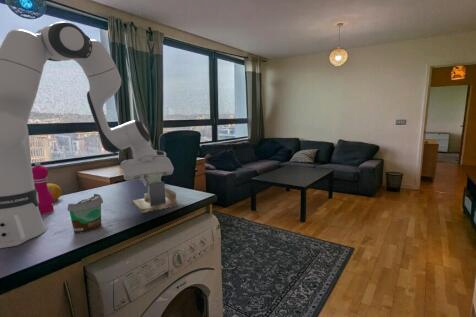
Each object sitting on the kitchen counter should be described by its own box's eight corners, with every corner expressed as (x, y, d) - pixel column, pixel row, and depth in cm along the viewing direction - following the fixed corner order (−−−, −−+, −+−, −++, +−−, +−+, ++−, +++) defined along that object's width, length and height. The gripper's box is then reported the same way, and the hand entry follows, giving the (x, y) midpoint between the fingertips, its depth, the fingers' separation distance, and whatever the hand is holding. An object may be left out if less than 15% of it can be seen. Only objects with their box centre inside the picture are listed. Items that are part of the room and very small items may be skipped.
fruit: (52, 197, 126) (50, 180, 125) (66, 198, 124) (64, 181, 123) (34, 203, 118) (31, 185, 117) (48, 205, 116) (45, 186, 114)
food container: (87, 236, 84) (83, 205, 83) (70, 235, 85) (66, 204, 84) (113, 221, 96) (110, 194, 95) (97, 220, 97) (95, 193, 96)
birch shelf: (141, 213, 103) (140, 199, 103) (132, 203, 115) (131, 191, 114) (176, 205, 111) (175, 192, 110) (165, 197, 123) (164, 185, 122)
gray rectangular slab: (150, 206, 106) (149, 184, 105) (150, 205, 107) (148, 183, 106) (165, 203, 110) (164, 181, 108) (164, 202, 111) (163, 181, 109)
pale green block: (151, 200, 109) (150, 176, 107) (148, 198, 112) (146, 174, 111) (160, 199, 111) (159, 175, 109) (157, 196, 114) (155, 173, 113)
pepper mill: (37, 209, 110) (30, 161, 107) (57, 207, 112) (51, 159, 109) (29, 215, 103) (22, 164, 100) (51, 213, 105) (44, 162, 102)
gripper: (120, 156, 109) (127, 184, 103) (169, 151, 121) (178, 176, 114) (118, 165, 114) (125, 193, 107) (166, 160, 125) (175, 185, 118)
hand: (153, 184), depth 111 cm, fingers closed on pale green block, 4 cm apart
